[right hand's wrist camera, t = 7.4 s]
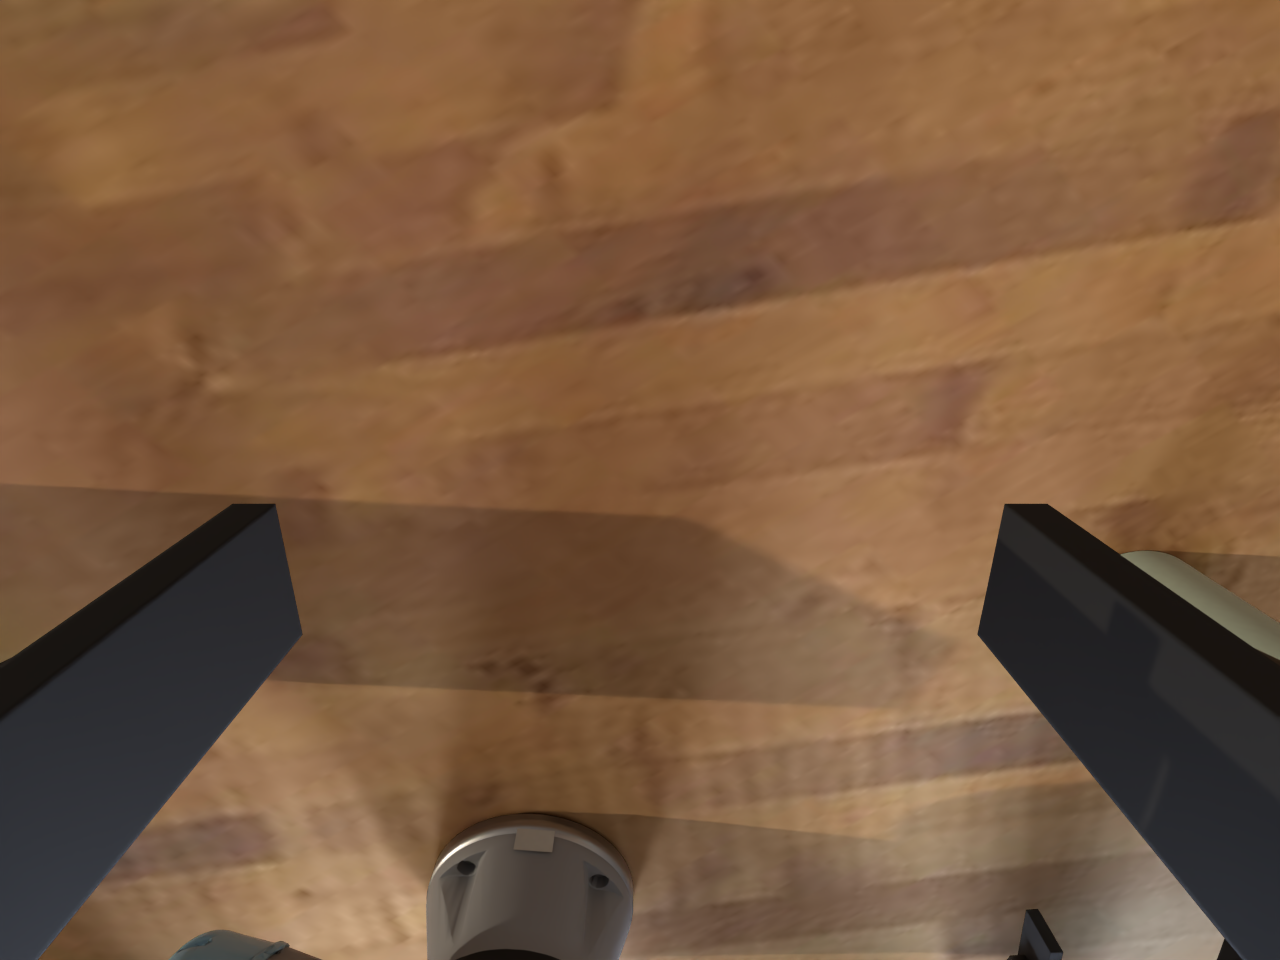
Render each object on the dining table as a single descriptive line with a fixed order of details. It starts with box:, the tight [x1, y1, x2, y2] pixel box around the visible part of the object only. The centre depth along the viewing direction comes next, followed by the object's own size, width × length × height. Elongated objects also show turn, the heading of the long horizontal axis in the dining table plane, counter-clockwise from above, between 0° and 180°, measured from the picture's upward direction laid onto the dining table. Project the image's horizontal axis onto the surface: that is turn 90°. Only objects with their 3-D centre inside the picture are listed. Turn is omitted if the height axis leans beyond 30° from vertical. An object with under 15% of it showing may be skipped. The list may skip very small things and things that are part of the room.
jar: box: [1120, 551, 1280, 660], centre depth 36 cm, size 9×9×16 cm
